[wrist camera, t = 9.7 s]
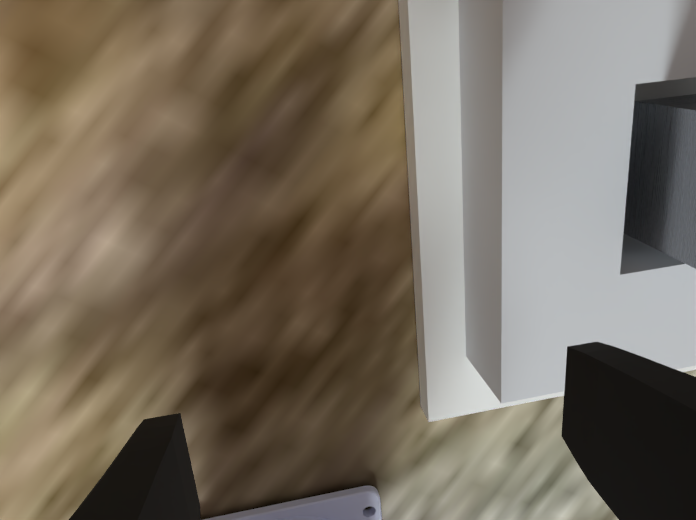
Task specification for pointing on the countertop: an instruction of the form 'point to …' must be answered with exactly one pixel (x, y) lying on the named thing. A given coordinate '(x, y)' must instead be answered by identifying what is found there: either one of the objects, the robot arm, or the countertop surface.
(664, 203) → the grey tall block
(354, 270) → the countertop surface
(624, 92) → the bracket board
